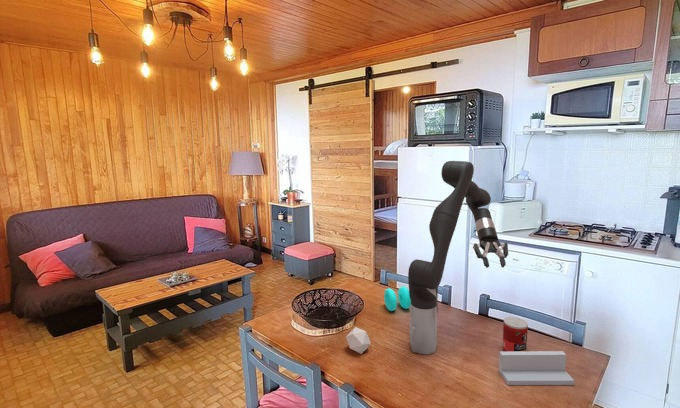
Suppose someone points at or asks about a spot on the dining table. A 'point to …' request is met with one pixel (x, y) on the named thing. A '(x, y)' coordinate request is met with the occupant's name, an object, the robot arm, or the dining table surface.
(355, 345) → the die
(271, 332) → the dining table surface
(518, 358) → the stop board
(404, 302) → the pair of cyan discs
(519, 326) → the canned food
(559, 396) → the dining table surface
